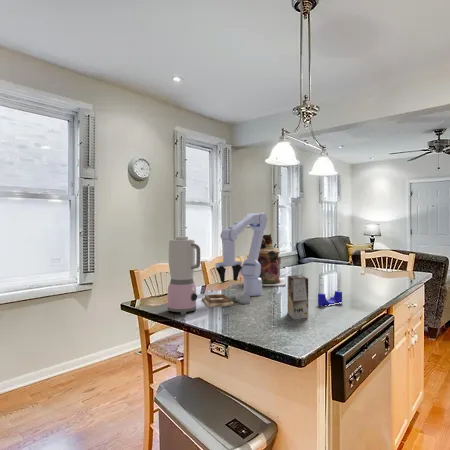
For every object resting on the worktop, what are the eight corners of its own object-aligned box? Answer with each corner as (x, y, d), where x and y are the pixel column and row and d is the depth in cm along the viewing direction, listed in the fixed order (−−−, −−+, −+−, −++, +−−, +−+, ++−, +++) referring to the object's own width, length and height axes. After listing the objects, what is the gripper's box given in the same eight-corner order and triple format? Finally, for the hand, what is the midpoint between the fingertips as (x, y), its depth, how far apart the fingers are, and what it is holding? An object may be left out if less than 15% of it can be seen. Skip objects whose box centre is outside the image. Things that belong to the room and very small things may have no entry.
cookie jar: (248, 280, 230) (248, 232, 230) (284, 280, 227) (284, 232, 227) (245, 286, 206) (245, 233, 206) (286, 287, 202) (286, 233, 202)
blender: (161, 312, 144) (161, 237, 144) (179, 306, 155) (179, 236, 155) (190, 317, 136) (190, 237, 136) (208, 311, 146) (208, 236, 146)
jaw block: (245, 300, 168) (245, 292, 168) (249, 303, 161) (249, 295, 161) (235, 301, 166) (235, 293, 166) (239, 304, 160) (239, 296, 160)
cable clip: (334, 303, 163) (334, 290, 163) (342, 304, 159) (342, 292, 159) (315, 305, 157) (315, 292, 157) (322, 307, 153) (322, 294, 153)
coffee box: (309, 319, 134) (309, 278, 134) (293, 319, 133) (293, 278, 133) (301, 313, 143) (301, 275, 143) (286, 313, 142) (286, 275, 142)
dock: (225, 298, 172) (225, 293, 172) (234, 305, 156) (234, 299, 156) (202, 299, 169) (202, 294, 169) (208, 307, 153) (208, 301, 153)
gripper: (235, 252, 174) (236, 278, 174) (212, 253, 166) (212, 281, 166) (244, 253, 168) (244, 280, 168) (220, 254, 160) (220, 283, 160)
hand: (229, 281), depth 167 cm, fingers open, 7 cm apart
